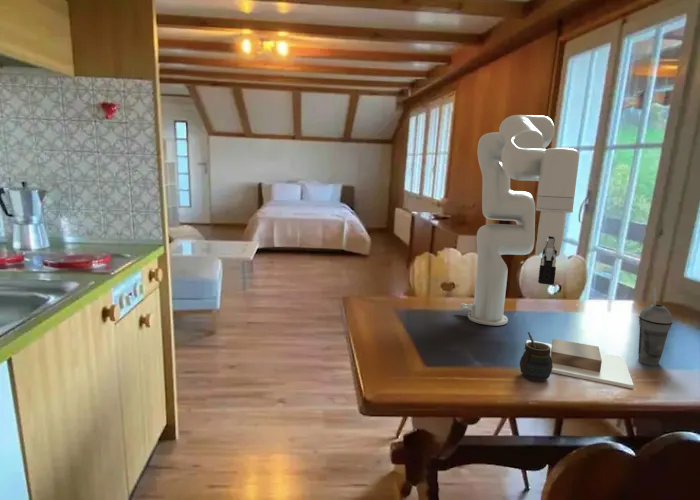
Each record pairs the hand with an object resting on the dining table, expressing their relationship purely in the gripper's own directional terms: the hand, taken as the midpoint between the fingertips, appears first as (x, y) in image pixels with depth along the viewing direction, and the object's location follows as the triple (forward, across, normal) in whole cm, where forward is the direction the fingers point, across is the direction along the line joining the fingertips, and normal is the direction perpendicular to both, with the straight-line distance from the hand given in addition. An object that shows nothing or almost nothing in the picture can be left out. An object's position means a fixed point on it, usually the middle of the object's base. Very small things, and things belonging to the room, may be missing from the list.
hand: (546, 279), depth 102 cm
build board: (+24, -14, +9) cm, 29 cm away
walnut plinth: (+23, -14, +9) cm, 28 cm away
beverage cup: (+24, -25, +27) cm, 44 cm away
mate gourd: (+24, 0, 0) cm, 24 cm away
